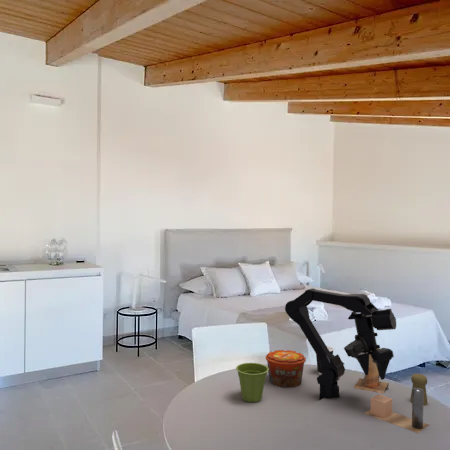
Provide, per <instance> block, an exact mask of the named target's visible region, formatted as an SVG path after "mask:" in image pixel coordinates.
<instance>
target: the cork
mask: <svg viewBox="0 0 450 450" xmlns="http://www.w3.org/2000/svg"><path fill="white" fill-rule="evenodd" d="M410 377H411V379H410V380H411V383H412V387H411V389H412V388H421V389H423V390H424V400H423V406H427V405H428V396H427V386H426V385H427V384H428V378H427V376H425V375H424V374H421V373H414V374H412V375H411V376H410ZM409 400H410V402H411V404H412V391H411V393H410V399H409Z"/></svg>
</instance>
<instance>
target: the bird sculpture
mask: <svg viewBox="0 0 450 450" xmlns="http://www.w3.org/2000/svg"><path fill="white" fill-rule="evenodd" d="M373 328H374V327H373ZM374 329H375V328H374ZM378 349H380V348H378ZM371 352H372V351H371ZM372 360H373V359H372V357H371V355H370V354H369V372H368V375H365V374H364V376H363V378H360V377H359V379H358V380H357V381H356V383H355V384H354V386H353V388H354V389H355V390H360V391H361V390H362V391H367V392H372V393H376V394H377V393H378V394H385V391H386V388H389V384H390V383H389V382H385V381H384V382H383V381H380V376H379V372H378V369H377V365H376V364H375V363H374V362H373V361H372Z"/></svg>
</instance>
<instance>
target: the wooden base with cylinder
mask: <svg viewBox="0 0 450 450" xmlns="http://www.w3.org/2000/svg"><path fill="white" fill-rule="evenodd" d="M411 392H412V403H411V417H408V416H405V415H402V414H400V413H396V412H394V411H392V414H391V415H390V416H388V417H386V418H382V417H379V416H376V415H374V414H371V409H369V410H367V411H365V412H364V413H363V414H365V415H368V416H370V417H373V418H376V419H379V420H381V421H383V422H386V423H389V424H393V425H395V426H398V427H400V428H402V429H405V430H409V431H410V432H411V431H412V432H414V433H416V434H419V433H420V432H422V431H423V430H425V429H426V428H427V427H429V426H430V424H428V423H426V422H424V405H423V400H424V390H423V389H421V388H412V387H411Z"/></svg>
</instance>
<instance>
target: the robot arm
mask: <svg viewBox="0 0 450 450" xmlns="http://www.w3.org/2000/svg"><path fill="white" fill-rule="evenodd" d="M313 301H314V302H319V303H322V304H323V303H325V304H330V305H335V306H339V307H343V308H344V309H346V310H348V311H350V312H351V314H350V315H349V317H347V319H348V320H354V323H355V324H354V325H355V329H356V333H357V334H355V336H354V340H352V341H350V342H349V343H348V344H347V345H346V346H344V347H343V350H344V351H345V353H346V355H347V357H349V358H350V357H351V358H354V359H356V360H357V362H358V364H359V366H360V367H361V369H362V372H363V373H364V376H365V375H368V372H369V354H370V355H371V357H372V359H373V360H372V361H373V362H374V363H375V364H376V365H377V369H378V372H379V379H380V380H381V381H382V380H385V376H386V374H387V370H388V367H389V365H390V361H391V360H392V358H394V357H395V356H394V351H393V350H392V349H390V348H387V347H381V346H380V344H377V337H378V332H375V329H376V331H387V330H388V331H391V330H396V328H397V319H396V317H395V315H394V312H392V308H386V309H379V308H377V307H376V306H375V305H374V304H373V303H372V302H371V300H370V297H368V295H367V294H365V293H350V294H349V293H348V294H347V293H346V294H345V293H343V294H342V293H338V292H332V291H326V290H322V289H320V290H319V289H315V288H310V289H309V288H308V289H306V290H305V291H304V292H302V294H300V295H299V296H298V297H296V298H295V299H292V300H289V301H288V302H287V303H285V307H284V311H285V313H286V314H287V316H288V317H289V318H290V319H291V320H292V321H293V322H295V323H296V324H297V325H298V326H299V328H300V330H301V332H302V333H303V334H304V336H305V338H306V340H307V341H308V344H309V345H310V347H311V348H312V350H313V351H314V353H315V356H316V355H317V356H318V358H319V361H320V368H321V370H322V374H321V375H318V376H317V377H316V381H317V384H318V385H319V395H318V396H319V397H318V401H321V400H323V399H325V398H326V399H337V398H340V386H339V384H338V381H339V380H340V378H341V377H343V376H344V375H345V371H346V368H345V362H343V361H342V359H341V356H340V355H339V354H336V355H334V353H333V354H332V353H330V351H329V350H328V348H327V346H328V345H326V343H325V341H324V340H323V338H322V336H321V335H320V333H319V332H318V330H317V328H316V326H315V325H314V323H313V321H312V320H311V318H310V314H309V313H310V312H309V308H308V306H309V305H310V304H311V303H312V302H313ZM373 327H374V328H373ZM378 348H379V349H378ZM371 351H372V352H371Z"/></svg>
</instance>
